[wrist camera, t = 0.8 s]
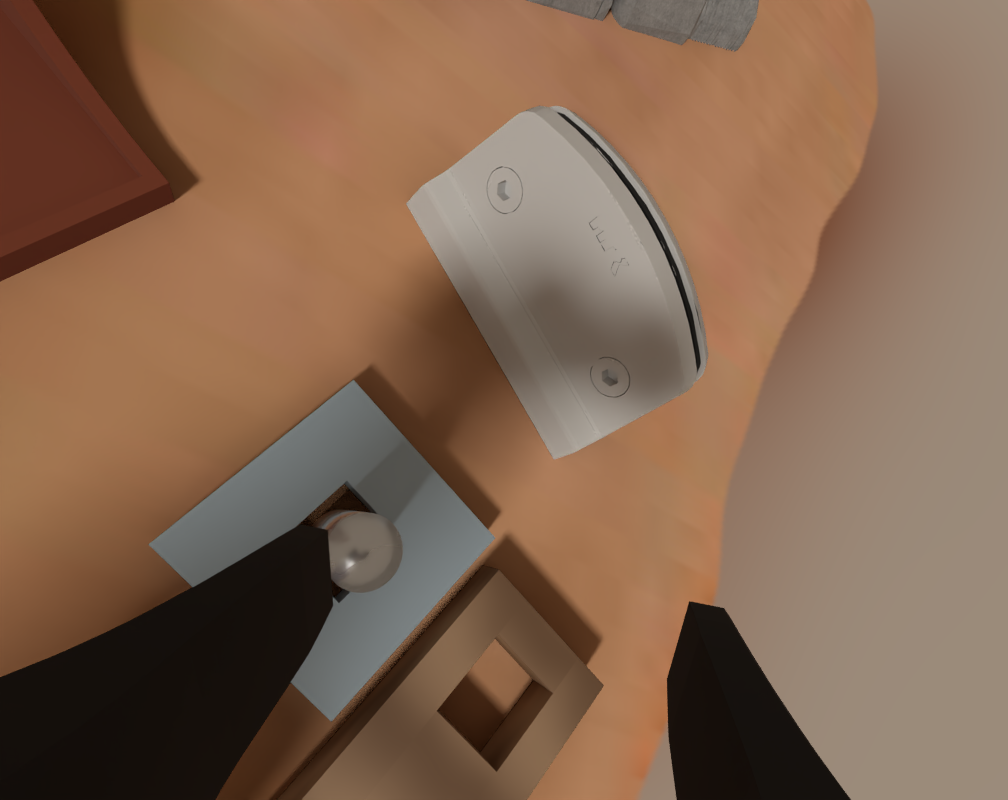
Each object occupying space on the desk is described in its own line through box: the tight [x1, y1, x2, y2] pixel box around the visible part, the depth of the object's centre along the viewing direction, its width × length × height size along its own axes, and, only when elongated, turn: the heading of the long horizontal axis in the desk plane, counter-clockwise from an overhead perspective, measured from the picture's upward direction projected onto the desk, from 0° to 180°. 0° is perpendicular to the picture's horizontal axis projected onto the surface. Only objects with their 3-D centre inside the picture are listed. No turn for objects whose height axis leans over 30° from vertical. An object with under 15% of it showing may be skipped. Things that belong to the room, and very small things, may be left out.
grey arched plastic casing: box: [406, 106, 708, 459], centre depth 27 cm, size 17×5×10 cm, turn 34°
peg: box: [312, 509, 403, 593], centre depth 21 cm, size 3×3×7 cm
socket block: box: [148, 380, 495, 722], centre depth 23 cm, size 10×10×2 cm
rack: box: [277, 565, 604, 800], centre depth 23 cm, size 16×8×2 cm, turn 135°
